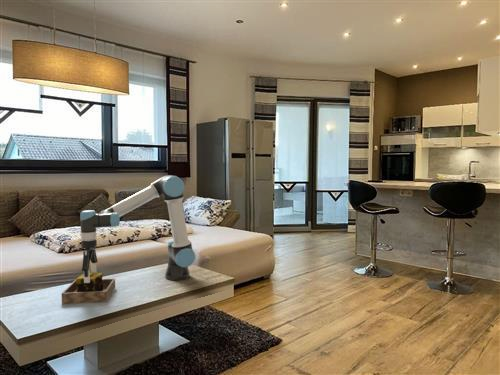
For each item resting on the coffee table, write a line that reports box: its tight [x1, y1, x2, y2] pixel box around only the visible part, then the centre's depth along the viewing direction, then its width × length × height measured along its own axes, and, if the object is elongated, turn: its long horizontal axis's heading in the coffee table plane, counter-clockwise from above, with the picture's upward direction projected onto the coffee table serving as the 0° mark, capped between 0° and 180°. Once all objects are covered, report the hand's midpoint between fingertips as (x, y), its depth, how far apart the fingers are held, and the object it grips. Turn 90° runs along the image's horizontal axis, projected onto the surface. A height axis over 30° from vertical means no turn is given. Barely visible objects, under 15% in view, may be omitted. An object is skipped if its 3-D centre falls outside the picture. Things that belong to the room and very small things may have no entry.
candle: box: [75, 272, 104, 292], centre depth 201 cm, size 10×10×10 cm
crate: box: [61, 278, 116, 305], centre depth 202 cm, size 22×22×6 cm
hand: (90, 278), depth 201 cm, fingers open, 13 cm apart
